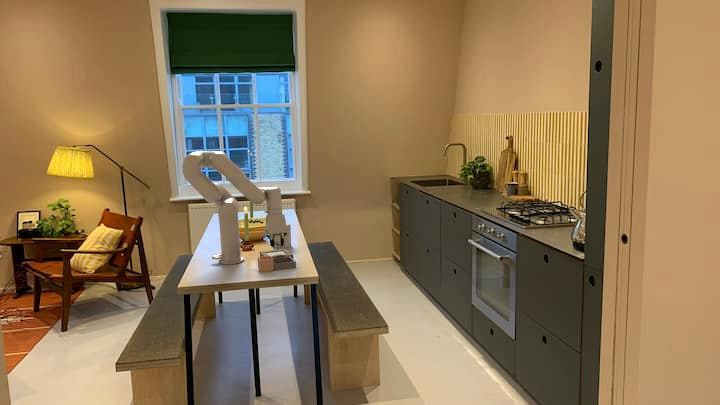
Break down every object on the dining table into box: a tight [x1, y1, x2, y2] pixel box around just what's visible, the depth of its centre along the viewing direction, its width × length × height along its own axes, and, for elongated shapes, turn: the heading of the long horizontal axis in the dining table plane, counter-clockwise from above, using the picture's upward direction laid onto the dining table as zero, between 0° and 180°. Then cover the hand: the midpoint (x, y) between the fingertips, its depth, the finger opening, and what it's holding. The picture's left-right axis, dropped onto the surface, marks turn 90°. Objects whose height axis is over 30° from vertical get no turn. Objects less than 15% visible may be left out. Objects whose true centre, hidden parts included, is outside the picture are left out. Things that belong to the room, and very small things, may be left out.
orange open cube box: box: [257, 256, 275, 273], centre depth 258 cm, size 6×6×6 cm
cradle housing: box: [259, 248, 295, 260], centre depth 279 cm, size 14×14×3 cm
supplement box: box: [281, 223, 292, 249], centre depth 304 cm, size 7×7×13 cm
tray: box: [273, 256, 297, 271], centre depth 265 cm, size 11×11×3 cm
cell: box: [272, 233, 283, 250], centre depth 278 cm, size 4×4×9 cm
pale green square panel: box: [266, 251, 285, 256], centre depth 279 cm, size 9×9×1 cm
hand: (277, 245), depth 278 cm, fingers closed on cell, 4 cm apart
